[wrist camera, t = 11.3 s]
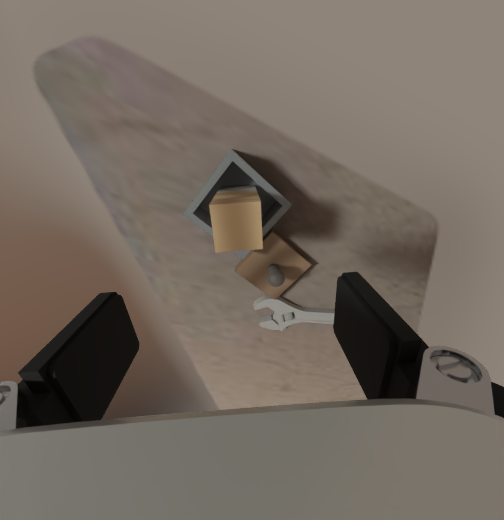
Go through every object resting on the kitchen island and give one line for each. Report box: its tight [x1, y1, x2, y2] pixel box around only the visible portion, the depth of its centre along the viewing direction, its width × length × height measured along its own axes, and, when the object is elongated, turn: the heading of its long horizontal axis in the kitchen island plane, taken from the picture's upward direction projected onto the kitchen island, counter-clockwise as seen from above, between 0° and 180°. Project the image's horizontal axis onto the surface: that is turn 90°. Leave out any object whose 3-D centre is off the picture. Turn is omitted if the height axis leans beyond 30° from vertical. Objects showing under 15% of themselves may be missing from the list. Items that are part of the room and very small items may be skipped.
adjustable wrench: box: [254, 295, 335, 332], centre depth 40 cm, size 25×6×2 cm, turn 79°
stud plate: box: [235, 229, 311, 300], centre depth 33 cm, size 8×8×6 cm
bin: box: [183, 149, 292, 259], centre depth 29 cm, size 9×9×5 cm
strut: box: [209, 184, 263, 252], centre depth 26 cm, size 4×4×11 cm
